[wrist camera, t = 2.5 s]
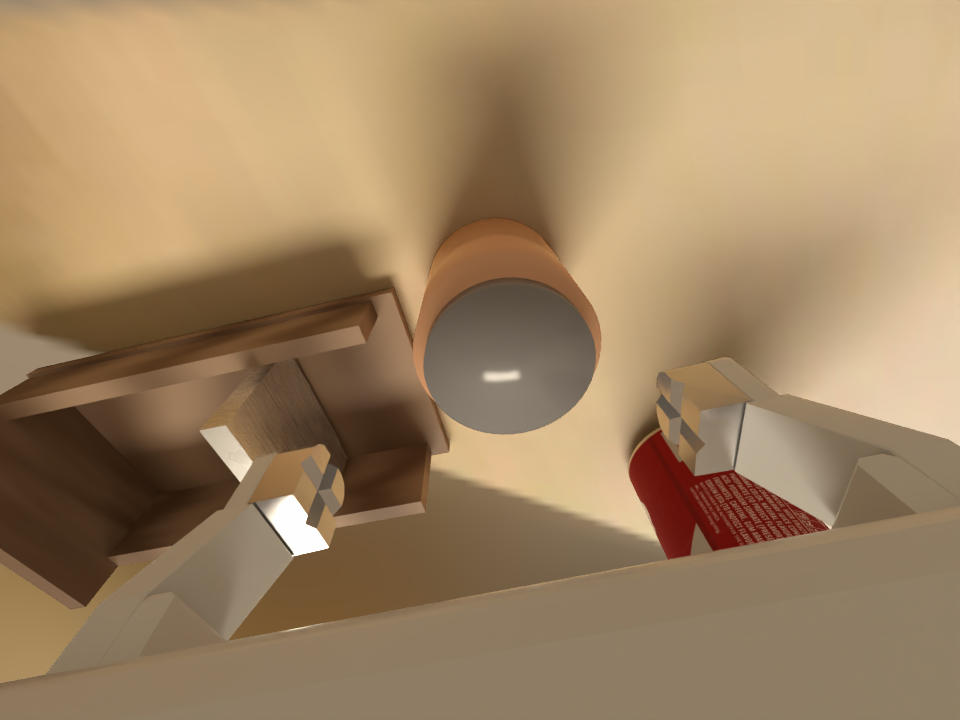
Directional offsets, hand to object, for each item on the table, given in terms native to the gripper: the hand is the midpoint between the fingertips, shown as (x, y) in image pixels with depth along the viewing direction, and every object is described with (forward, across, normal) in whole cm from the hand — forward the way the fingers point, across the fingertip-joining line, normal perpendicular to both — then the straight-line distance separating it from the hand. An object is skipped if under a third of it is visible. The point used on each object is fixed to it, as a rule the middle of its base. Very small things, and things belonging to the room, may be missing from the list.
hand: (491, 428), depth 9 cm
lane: (+10, +13, +4) cm, 17 cm away
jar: (+10, -1, 0) cm, 10 cm away
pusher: (+9, +10, +4) cm, 14 cm away
